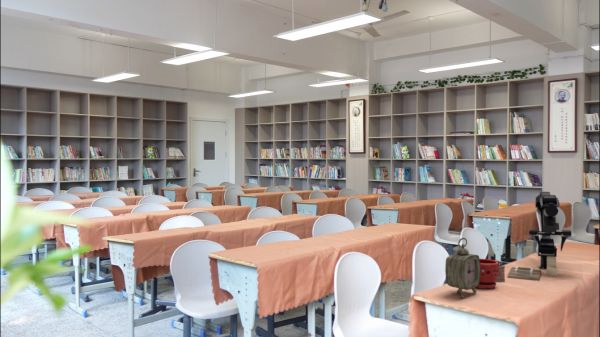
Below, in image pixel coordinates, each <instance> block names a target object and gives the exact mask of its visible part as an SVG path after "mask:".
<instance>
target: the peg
mask: <svg viewBox="0 0 600 337" xmlns="http://www.w3.org/2000/svg"><path fill="white" fill-rule="evenodd" d="M554 276H555V277H557V257H549V256H547V269H546V277H554Z"/></svg>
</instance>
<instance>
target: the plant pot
mask: <svg viewBox="0 0 600 337" xmlns="http://www.w3.org/2000/svg"><path fill="white" fill-rule="evenodd" d="M499 265H500V264H499V263H498V262H497V261H495V260H494V259H489V258H488V259H487V258H480V282H479V285H478V286H476V287H475V288H479V289H493V288H495V287H496V286H497V282H495V280H496V278H497V275H498V267H499ZM488 270H489V271H488ZM493 271H494V272H493Z"/></svg>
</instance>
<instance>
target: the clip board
mask: <svg viewBox="0 0 600 337" xmlns="http://www.w3.org/2000/svg"><path fill="white" fill-rule="evenodd" d="M541 273H542V269H535V268H533V267H523V266H516V267H514V266H512V267H511V268H510V270H509V272H508V273H507V278H509V279H518V280H527V281H529V280H530V281H537V282H538V281H540V278H541Z"/></svg>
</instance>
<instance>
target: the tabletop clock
mask: <svg viewBox="0 0 600 337" xmlns="http://www.w3.org/2000/svg"><path fill="white" fill-rule="evenodd" d="M463 240H465V244H464V243H462V244H461V245H460V243H461V241H463ZM457 245H458V247H459V248H458V249H457V251H456V253H454V254H451V255H449V256H447V257H446V258H445V266H444V267H445V269H444V271H445V283H446V285H447V286H448V287H452V288H456V289H457V290H456V294H459V298H460V299H463V298H464V294H463V290H466V291H469V290H472V293H473V294H476V293H477V289H475V288H477V287H476V286H478V285H479V282H480V259H481V258H480V256H479V255H477V254H472V253H470V252H469V250H468V249H467V248H465V247H466V246H467V245H468V240H467V238H465V237H461V238H460V239H459V240H458V242H457Z"/></svg>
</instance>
